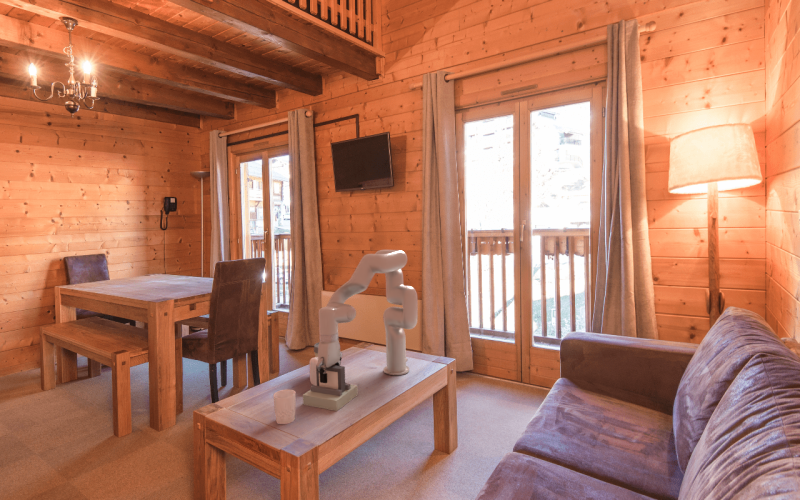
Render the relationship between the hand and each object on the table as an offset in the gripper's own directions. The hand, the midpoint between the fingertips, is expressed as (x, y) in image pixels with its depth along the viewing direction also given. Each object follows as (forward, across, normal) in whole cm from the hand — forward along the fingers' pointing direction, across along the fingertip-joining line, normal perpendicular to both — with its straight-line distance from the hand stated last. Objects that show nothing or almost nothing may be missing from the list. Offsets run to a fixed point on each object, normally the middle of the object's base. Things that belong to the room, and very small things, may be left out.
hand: (330, 378), depth 164 cm
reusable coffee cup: (+9, -23, -17) cm, 30 cm away
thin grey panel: (+5, 0, 0) cm, 5 cm away
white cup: (+9, +21, -6) cm, 24 cm away
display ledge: (+9, 0, 0) cm, 9 cm away
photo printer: (+9, -11, -14) cm, 20 cm away
